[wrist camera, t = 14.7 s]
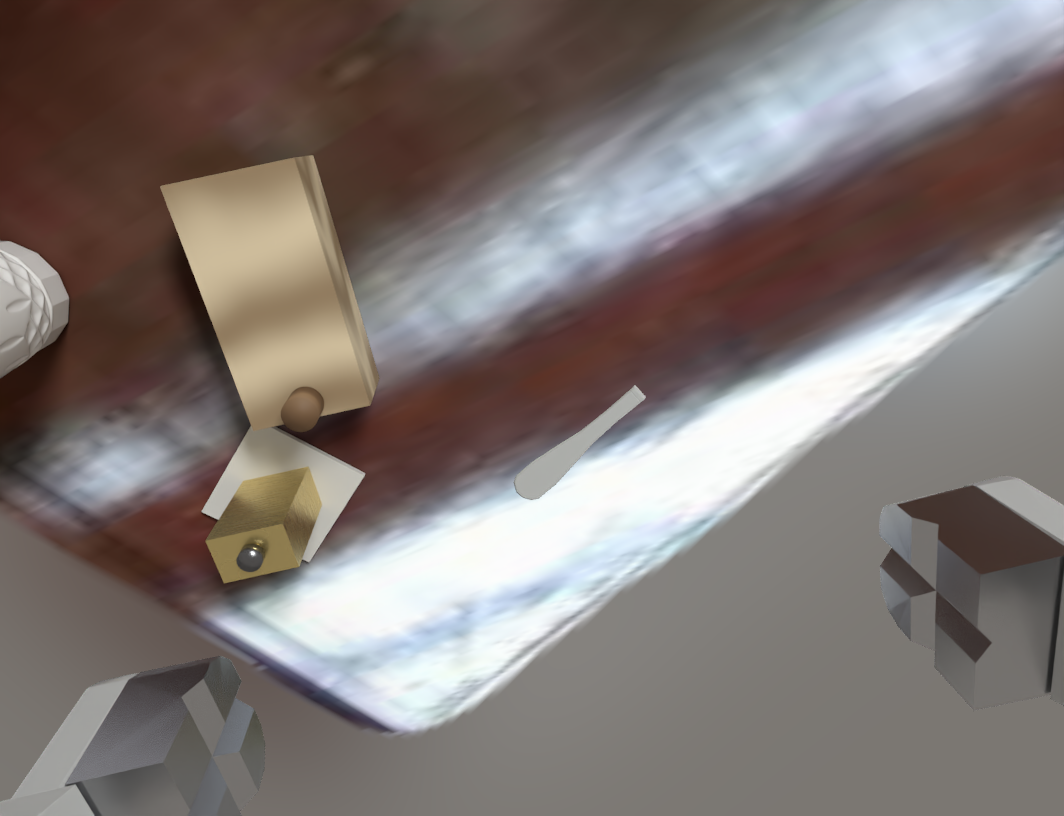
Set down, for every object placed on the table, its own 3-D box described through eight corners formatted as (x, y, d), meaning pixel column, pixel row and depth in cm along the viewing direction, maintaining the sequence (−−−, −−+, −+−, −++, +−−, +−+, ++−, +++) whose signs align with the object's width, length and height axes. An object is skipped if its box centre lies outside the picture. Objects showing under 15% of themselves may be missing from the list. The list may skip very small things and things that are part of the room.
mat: (203, 508, 48) (201, 511, 48) (256, 416, 46) (254, 418, 46) (310, 559, 50) (308, 562, 50) (365, 473, 48) (364, 475, 48)
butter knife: (503, 481, 49) (531, 507, 50) (777, 247, 45) (801, 281, 46) (503, 478, 50) (530, 504, 51) (774, 247, 46) (798, 280, 46)
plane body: (194, 180, 40) (143, 188, 34) (313, 155, 41) (285, 158, 34) (274, 401, 46) (243, 445, 39) (379, 378, 46) (366, 417, 39)
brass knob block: (242, 480, 47) (200, 548, 39) (308, 466, 47) (279, 530, 39) (258, 518, 48) (219, 591, 40) (322, 504, 48) (296, 574, 41)
